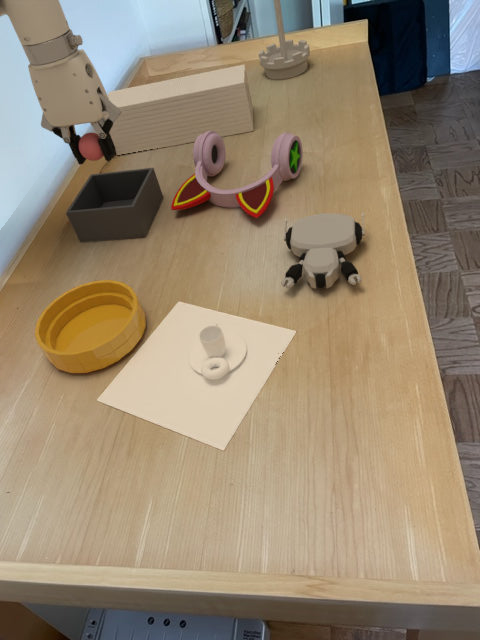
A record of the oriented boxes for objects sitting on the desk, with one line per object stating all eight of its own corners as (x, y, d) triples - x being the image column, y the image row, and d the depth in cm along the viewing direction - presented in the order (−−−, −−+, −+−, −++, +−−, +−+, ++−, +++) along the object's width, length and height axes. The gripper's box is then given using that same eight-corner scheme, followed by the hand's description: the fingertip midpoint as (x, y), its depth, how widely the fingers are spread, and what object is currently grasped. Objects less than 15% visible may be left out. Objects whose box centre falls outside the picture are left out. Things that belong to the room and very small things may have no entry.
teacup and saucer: (225, 389, 68) (218, 368, 65) (175, 372, 71) (166, 352, 69) (257, 341, 73) (252, 320, 70) (208, 327, 76) (201, 307, 74)
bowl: (32, 376, 76) (17, 355, 73) (71, 303, 87) (59, 282, 84) (129, 375, 73) (118, 353, 70) (158, 299, 83) (149, 277, 80)
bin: (80, 242, 100) (65, 212, 95) (103, 203, 109) (90, 174, 104) (145, 237, 97) (133, 206, 92) (163, 197, 106) (153, 167, 101)
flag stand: (316, 72, 136) (302, -70, 115) (266, 85, 136) (243, -54, 116) (305, 56, 145) (290, -78, 125) (258, 68, 146) (236, -63, 125)
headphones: (301, 126, 98) (256, 170, 85) (305, 176, 104) (264, 225, 91) (209, 124, 107) (154, 165, 93) (217, 171, 113) (167, 216, 99)
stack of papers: (253, 111, 126) (244, 64, 119) (253, 131, 119) (244, 82, 111) (125, 135, 131) (109, 91, 124) (117, 156, 124) (99, 110, 116)
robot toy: (366, 298, 76) (364, 229, 85) (364, 275, 72) (363, 206, 82) (280, 301, 79) (288, 234, 88) (275, 279, 75) (284, 212, 85)
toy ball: (81, 167, 92) (70, 142, 89) (90, 153, 95) (79, 129, 92) (105, 164, 91) (95, 139, 88) (113, 150, 94) (104, 126, 91)
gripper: (109, 31, 81) (148, 142, 94) (13, 49, 85) (62, 153, 98) (93, 49, 76) (136, 164, 88) (-9, 67, 80) (46, 175, 93)
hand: (97, 157), depth 93 cm, fingers closed on toy ball, 4 cm apart
